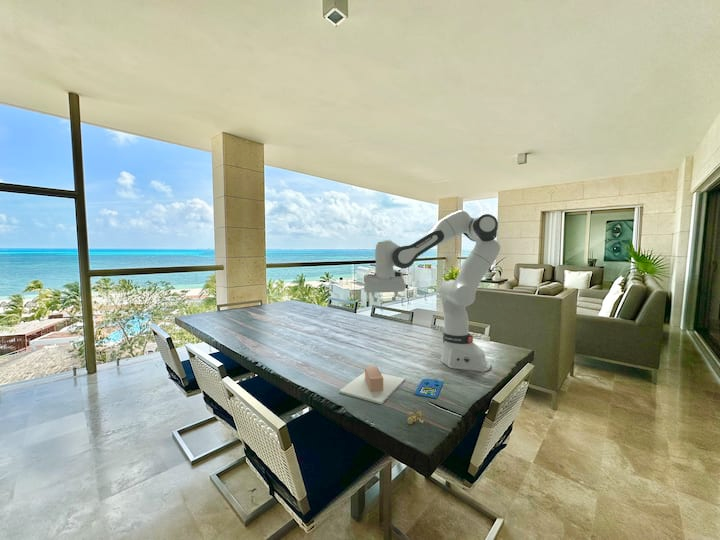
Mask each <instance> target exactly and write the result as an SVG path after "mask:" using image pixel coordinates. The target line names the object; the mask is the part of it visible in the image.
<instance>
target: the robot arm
mask: <svg viewBox="0 0 720 540" xmlns="http://www.w3.org/2000/svg"><path fill="white" fill-rule="evenodd" d="M498 228H499V224H498V220H497V218H496V216H494V215H492V214H489V213H483V214H480V215H478V216H477V217H472V216H470V214H469V213H468V212H467V211H465V210H461V209H460V210H458V211H454V212H452V213H450V214H448V215H446V216H445V217H444V216H443V218H441V219H440V220H438V221H437V222H436V223H434V224H433V225H432V226H431V227H430V228H429V231H428V232H427V233H426V234H425V235H424V236H423V237H421V238H420V239H418V240H416V241H415V242H413V243H411V244H409V245H403V246H402V245H400V244H397V243H395V242H394V241H393V240H390V239H387V240H381V241H379V242H377V243H376V245H375V251H374V252H375V253H374V255H375V256H374V257H375V259H374V260H375V266H374V269H375V273H366V274H365V275H364V276H363V283H364V284H363V291H364V292H365V293H366V294H371V296H372V299H373V302H374V303H375V302H378V297H376V296H375V294H376V293H394V295H393V296H391V301H392V302H396V300H397V296H398V294H399V292H405V290H406V283H405V279H404V277H403V276H404V273H403V272H401V271H398V270H396V269H394V266H396V267H397V268H399V269H407V268H410V267H411V266H412V265H413V264H414V263H415V261H416V259H418V258H419V256H421V255H423V254H424V253H426V252H427V251H429V250H431V249H432V248H434V247H436V246H439V245H442V244H445V243H448V242H450V241H452V240H453V239H455V238H457V237H459V236H460V235H462V234H463V235H464V236H465V237H467V239H468V240H470V241H471V242H474V243H475V245H474V248H472V249H471V251H470V253H469V255H468V256H467V257H466V259H465V260H464V261H463V263H462V264H461V266H460V269H459V272H458V274H457V276H456V279H450V280H446V281H444V282H442V284H441V285H440V288H439V292H440V295H441V296H440V297H441V302H442V303H441V304H442V309H443V318H444V319H443V321H444V322H443V326H444V327H443V333H442V342H443V346H442V347H443V348H442V354H441V356H440V362H441V363H442V364H444V365H446V366H447V367H448V368H450V369H456V370H464V371H465V370H466V371H472V372H473V371H474V372H482V373H485V372H488V371H489V370H490V369H491V367H492V364H491V361H490V360H489V359H487V358H486V354H485V352H484V350H483V348H481V347H479V346H478V345H477V344H476V343H475V342H474V335H473V334H470V333H469V315H468V312H467V307H469V306H471V305H472V304H473V303H475V300H476V292H477V291H478V288H479V285H480V283H481V282H482V279H483V278H484V277H485V275H486V273H487V272H488V271H489V269H490V268H491V267H492V265H493V264H494V262H495V261H496V259H497V257H498V255H499V253H500V252H501V245H500V243H499V242H498V241H497V240H496V238H497V237H498V233H497V232H498Z"/></svg>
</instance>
